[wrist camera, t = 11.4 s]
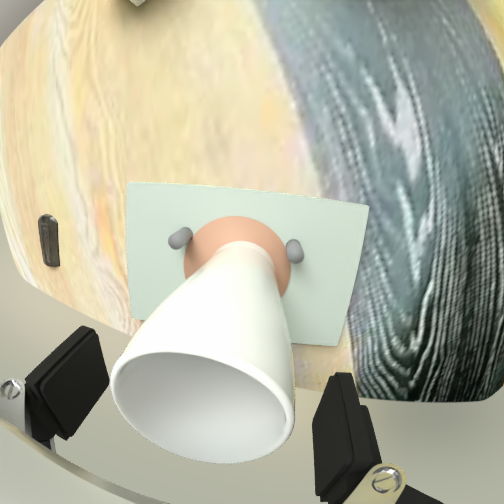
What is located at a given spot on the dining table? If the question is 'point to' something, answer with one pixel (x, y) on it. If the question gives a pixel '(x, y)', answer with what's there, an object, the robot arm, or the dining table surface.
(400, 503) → the robot arm
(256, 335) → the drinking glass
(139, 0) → the white cube
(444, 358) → the dining table surface
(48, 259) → the block
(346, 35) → the dining table surface
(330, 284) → the pin nest plate
